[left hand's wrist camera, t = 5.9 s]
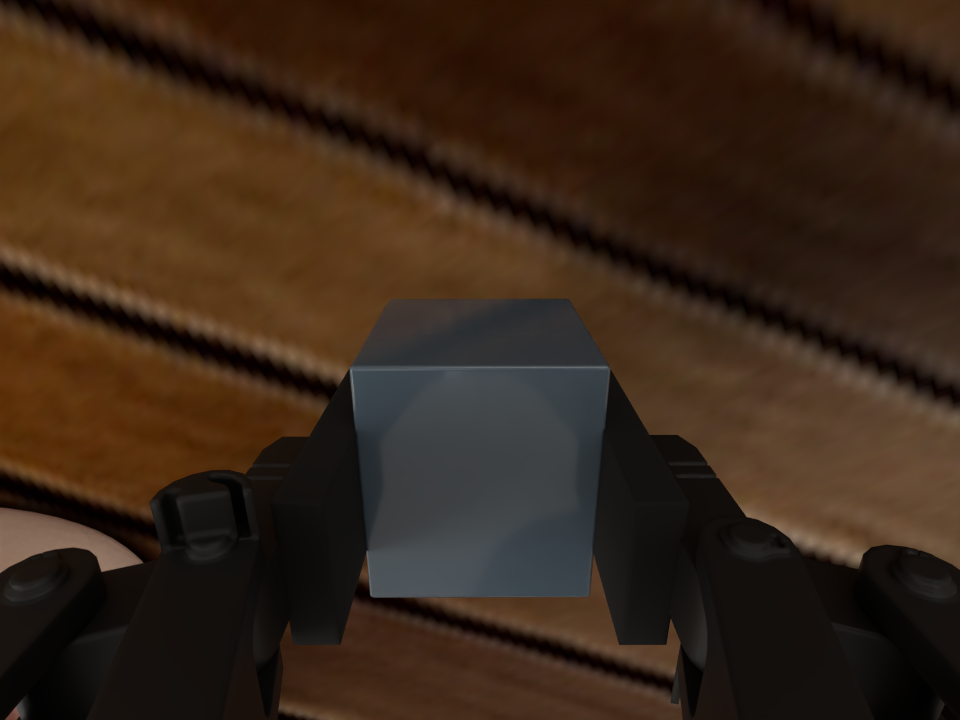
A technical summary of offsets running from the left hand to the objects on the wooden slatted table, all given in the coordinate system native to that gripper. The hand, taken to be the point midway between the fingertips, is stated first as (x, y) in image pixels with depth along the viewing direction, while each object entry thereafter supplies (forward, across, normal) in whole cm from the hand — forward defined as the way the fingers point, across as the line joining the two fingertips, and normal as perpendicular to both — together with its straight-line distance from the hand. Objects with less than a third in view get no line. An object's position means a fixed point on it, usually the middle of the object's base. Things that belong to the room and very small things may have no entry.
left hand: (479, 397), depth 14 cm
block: (0, 0, 0) cm, 0 cm away
